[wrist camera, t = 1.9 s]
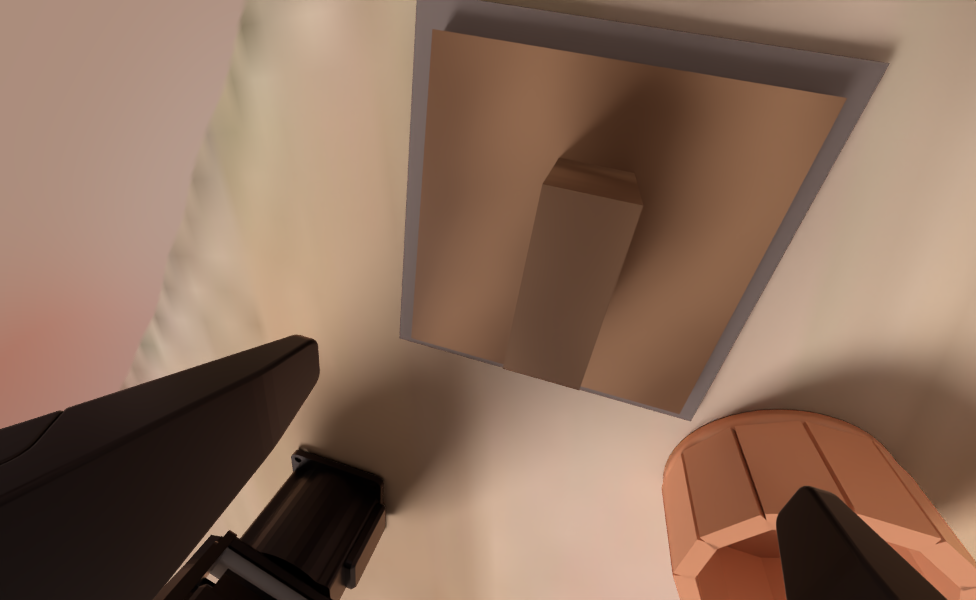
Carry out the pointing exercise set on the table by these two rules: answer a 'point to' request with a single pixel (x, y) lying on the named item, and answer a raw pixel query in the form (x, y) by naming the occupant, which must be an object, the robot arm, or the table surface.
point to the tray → (458, 9)
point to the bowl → (770, 485)
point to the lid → (598, 210)
